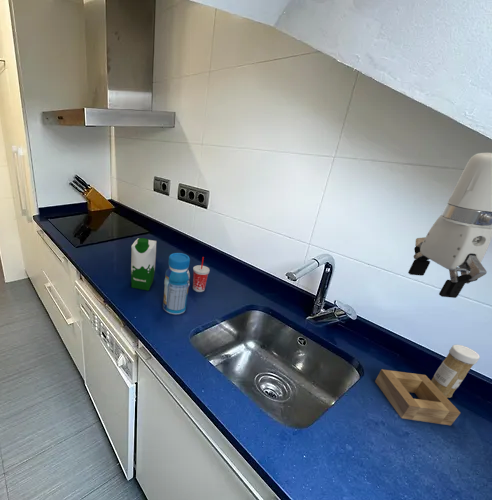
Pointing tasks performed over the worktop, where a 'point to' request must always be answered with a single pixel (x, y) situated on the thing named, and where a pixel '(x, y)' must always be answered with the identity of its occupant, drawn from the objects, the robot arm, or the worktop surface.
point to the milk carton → (143, 263)
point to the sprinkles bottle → (454, 369)
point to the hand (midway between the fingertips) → (430, 284)
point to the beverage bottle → (176, 283)
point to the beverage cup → (200, 277)
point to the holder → (430, 397)
